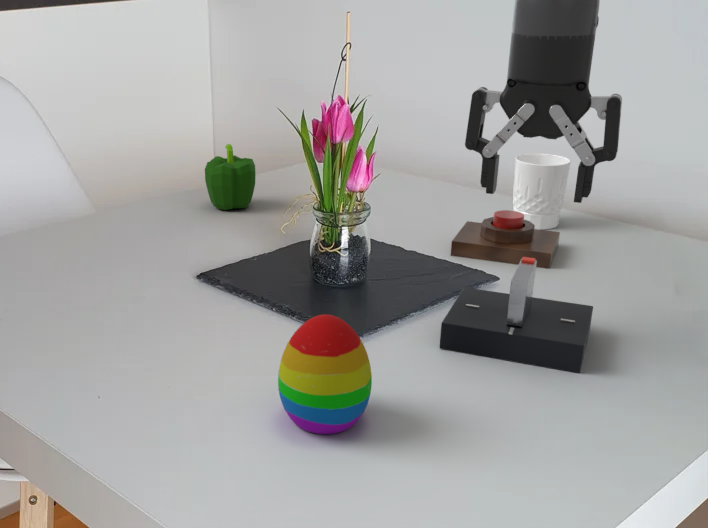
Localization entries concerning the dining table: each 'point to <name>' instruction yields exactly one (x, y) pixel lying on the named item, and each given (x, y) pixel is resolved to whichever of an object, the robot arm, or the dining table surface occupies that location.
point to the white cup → (540, 188)
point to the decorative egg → (324, 376)
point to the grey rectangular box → (521, 291)
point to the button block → (505, 243)
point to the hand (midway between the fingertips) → (533, 196)
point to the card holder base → (518, 330)
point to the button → (508, 219)
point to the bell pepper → (230, 181)
